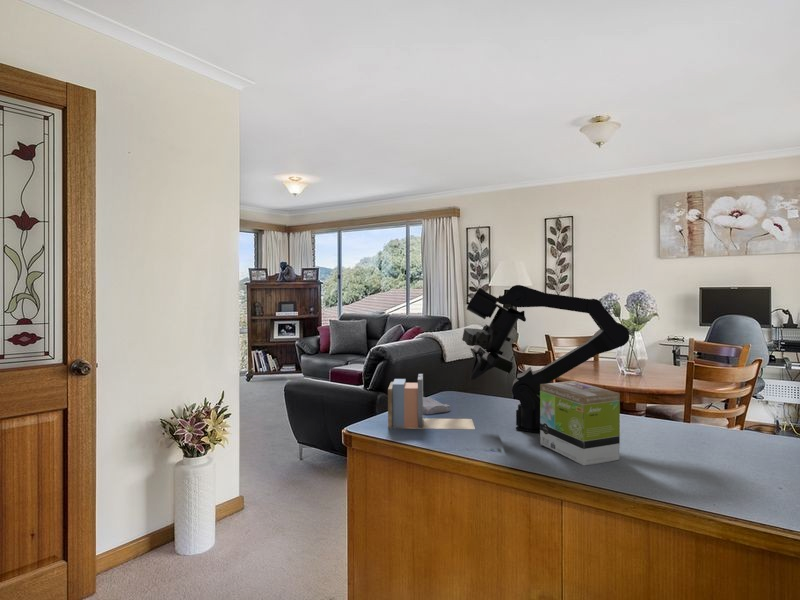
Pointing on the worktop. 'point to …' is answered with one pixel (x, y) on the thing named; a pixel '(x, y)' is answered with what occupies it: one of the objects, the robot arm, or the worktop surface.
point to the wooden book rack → (430, 422)
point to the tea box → (580, 421)
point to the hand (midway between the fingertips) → (471, 378)
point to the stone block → (434, 406)
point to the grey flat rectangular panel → (420, 400)
